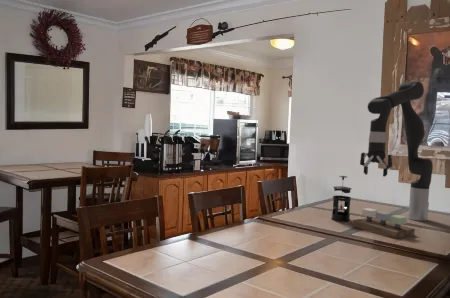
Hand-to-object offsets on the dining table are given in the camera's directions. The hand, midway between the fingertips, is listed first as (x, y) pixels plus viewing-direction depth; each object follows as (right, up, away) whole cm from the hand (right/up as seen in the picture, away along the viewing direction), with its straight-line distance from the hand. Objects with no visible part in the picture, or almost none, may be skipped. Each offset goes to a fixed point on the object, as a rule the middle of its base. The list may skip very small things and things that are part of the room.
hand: (375, 175), depth 200 cm
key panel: (+4, -26, +1) cm, 27 cm away
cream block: (0, -23, +7) cm, 24 cm away
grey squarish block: (+4, -24, 0) cm, 24 cm away
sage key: (+8, -24, -6) cm, 26 cm away
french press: (-11, -25, +20) cm, 33 cm away
